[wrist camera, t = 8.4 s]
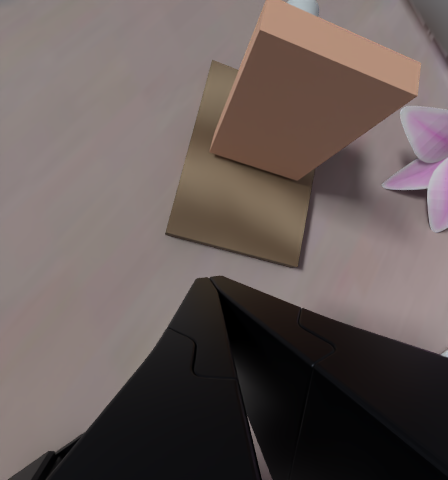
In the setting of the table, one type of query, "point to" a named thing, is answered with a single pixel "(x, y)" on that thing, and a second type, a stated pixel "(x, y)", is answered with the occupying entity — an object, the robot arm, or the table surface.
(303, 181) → the tan board
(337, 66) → the salmon pink upright block
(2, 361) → the table surface
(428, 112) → the lily
